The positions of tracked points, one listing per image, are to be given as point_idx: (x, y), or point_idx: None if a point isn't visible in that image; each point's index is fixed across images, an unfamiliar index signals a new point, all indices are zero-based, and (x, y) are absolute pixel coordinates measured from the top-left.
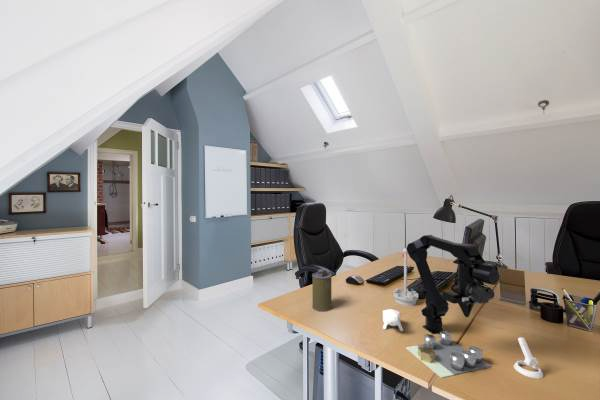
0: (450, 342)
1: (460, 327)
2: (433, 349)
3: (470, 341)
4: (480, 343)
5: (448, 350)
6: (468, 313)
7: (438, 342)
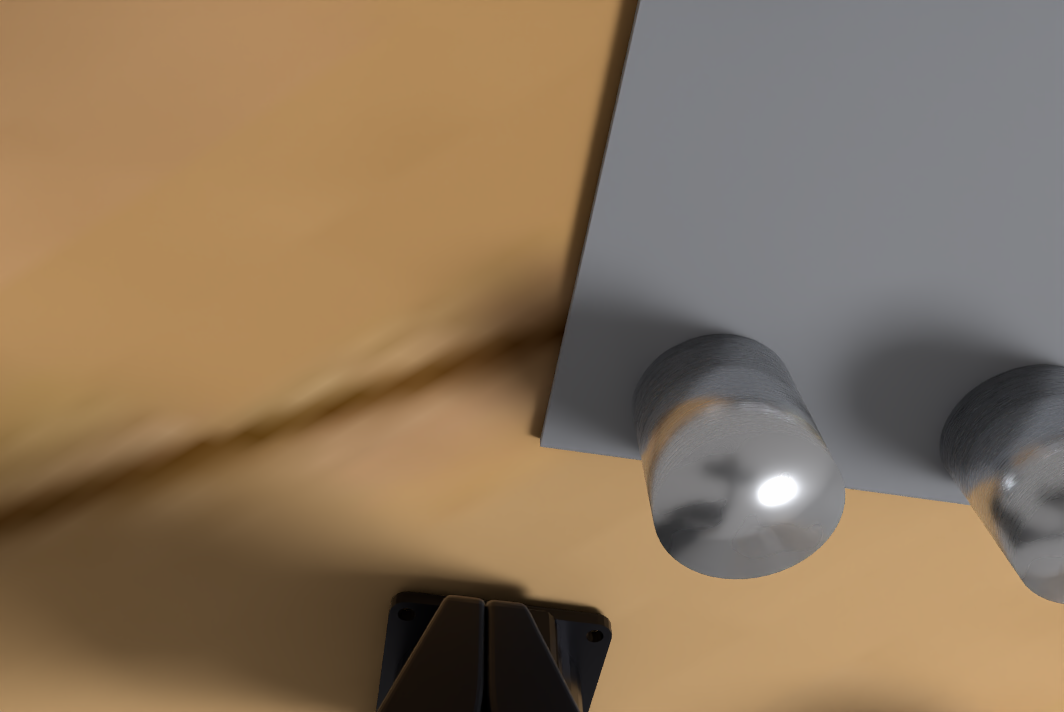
0: (726, 361)
1: (47, 580)
2: (1061, 369)
3: (259, 287)
4: (142, 177)
5: (885, 263)
6: (482, 708)
7: None
